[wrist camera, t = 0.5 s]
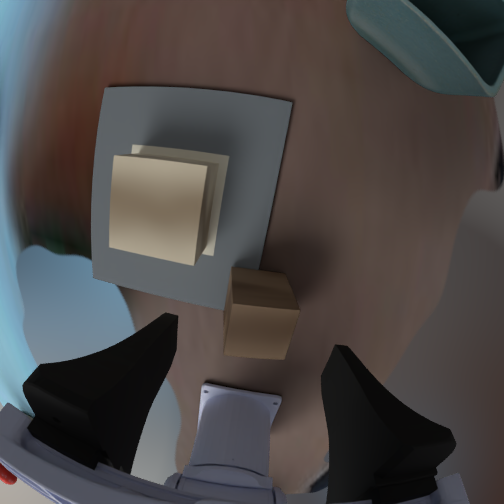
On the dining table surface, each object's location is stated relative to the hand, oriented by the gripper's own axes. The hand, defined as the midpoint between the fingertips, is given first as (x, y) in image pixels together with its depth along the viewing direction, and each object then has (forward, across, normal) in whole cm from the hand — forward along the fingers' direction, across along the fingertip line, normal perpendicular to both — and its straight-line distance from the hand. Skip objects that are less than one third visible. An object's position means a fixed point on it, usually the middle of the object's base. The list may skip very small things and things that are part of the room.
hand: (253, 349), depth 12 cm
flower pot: (+9, -7, -20) cm, 23 cm away
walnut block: (+9, 0, +2) cm, 9 cm away
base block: (+9, +7, -4) cm, 12 cm away
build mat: (+9, +7, -4) cm, 12 cm away
